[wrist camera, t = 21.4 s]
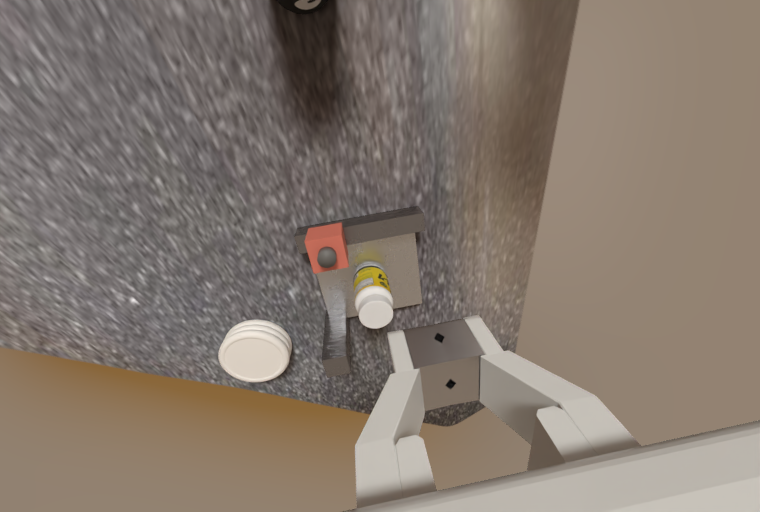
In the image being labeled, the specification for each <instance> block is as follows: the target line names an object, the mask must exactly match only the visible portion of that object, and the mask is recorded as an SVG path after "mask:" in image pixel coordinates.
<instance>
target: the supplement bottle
mask: <svg viewBox="0 0 760 512" xmlns="http://www.w3.org/2000/svg"><path fill="white" fill-rule="evenodd" d="M353 285H354V301H355V308H356V310H357V312H358V313H359V319H360V321H361V323H362V324H363V325H364V326H366V327H368V328H373V329H377V328H381V327H384V326H386V325H387V324H388V323H389V322H390V321H391V320H392V317H393V308H392V307H393V297H392V293H391V290H390V286H389V282H388V279H387V275H386V273H385V271H384V270H383V269H382V268H381V267H379V266H377V265H373V264H369V265H364V266H362V267H361V268H359V269H358V270H357V271H356V273H355V274H354V278H353Z"/></svg>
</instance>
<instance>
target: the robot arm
mask: <svg viewBox="0 0 760 512" xmlns="http://www.w3.org/2000/svg"><path fill="white" fill-rule="evenodd" d="M388 341H389V347H390V352H391V358H392V363H393V369H394V374H390V376H389V378H388V380H387V382H386V384H385V386H384V388H383V390H382V392H381V394H380V396H379V398H378V400H377V402H376V404H375V406H374V408H373V410H372V412H371V414H370V416H369V419H368V421H367V423H366V425H365V427H364V429H363V431H362V433H361V435H360V437H359V439H358V441H357V443H356V445H355V464H356V496H357V508H356V509H352V510H347V511H343V512H760V420H759V421H755V422H749V423H745V424H740V425H736V426H731V427H727V428H722V429H718V430H713V431H708V432H704V433H699V434H695V435H690V436H686V437H681V438H677V439H672V440H667V441H663V442H659V443H654V444H650V445H645V446H641V445H640V444H639V443H638V442H637V441H636V440H635V438H634V437H632V435H631V434H630V433H629V432H628V431H627V430H626V429H625V427H624V426H623V425H622V424H621V423H620V422H619V421H618V420H617V419H616V417H615V416H614V415H613V414H612V413H611V412H610V411H609V410H608V409H607V407H606V406H605V405H604V404H603V403H602V402H601V401H600V400H599V398H598V397H597V396H596V395H594V394H592V393H590V392H588V391H586V390H584V389H582V388H580V387H578V386H576V385H574V384H572V383H570V382H569V381H567V380H565V379H563V378H561V377H559V376H557V375H555V374H553V373H551V372H549V371H547V370H545V369H543V368H542V367H540V366H538V365H536V364H534V363H532V362H530V361H528V360H526V359H524V358H522V357H520V356H518V355H516V354H515V353H513V352H511V351H509V350H508V351H503V349H502V348H501V347H500V345H499V344H498V342H497V341H496V339H495V338H494V336H493V335H492V333H491V332H490V331H489V329H488V328H487V326H486V325H485V323H484V322H483V320H482V319H481V318H480V316H478V315H475V316H471V317H466V318H462V319H457V320H452V321H448V322H443V323H438V324H433V325H427V326H422V327H416V328H410V329H404V330H400V331H394V332H389V333H388ZM476 400H480V402H481V403H482V404H483V405H485V406H486V407H487V408H488V409H489V410H491V411H492V412H493V413H494V414H495V415H496V416H498V417H499V418H500V419H501V420H502V421H503V422H505V423H506V424H507V425H509V427H511V428H512V429H513V430H514V431H515V432H516V433H518V434H519V435H520V436H521V437H522V438H524V439H525V440H526V441H527V442H528V443H529V444H531V451H530V456H529V462H528V468H527V471H525V472H521V473H517V474H512V475H507V476H502V477H498V478H493V479H489V480H484V481H480V482H475V483H471V484H466V485H461V486H457V487H453V488H448V489H443V490H439V491H437V490H436V486H435V483H434V478H433V475H432V471H431V467H430V463H429V459H428V455H427V452H426V448H425V444H424V440H423V439H422V438H421V437H419V433H420V430H421V426H422V422H423V419H424V415H425V411H428V410H432V409H436V408H440V407H444V406H449V405H453V404H459V403H465V402H470V401H476Z"/></svg>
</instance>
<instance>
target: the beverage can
mask: <svg viewBox="0 0 760 512" xmlns="http://www.w3.org/2000/svg"><path fill="white" fill-rule="evenodd" d="M277 1H278V2H279V3H280V4H281V5H282V6H283V7H285V8H286V9H288V10H290V11H292V12H295V13H299V14H309V13H313V12H315V11H317V10H319V9H320V8H321V7H323V6H324V5H325V4H326V2H327V1H328V0H277Z"/></svg>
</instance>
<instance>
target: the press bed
mask: <svg viewBox="0 0 760 512" xmlns="http://www.w3.org/2000/svg"><path fill="white" fill-rule="evenodd" d="M341 222H342V226H343V231H344V235H345V240H346V244H347V249H348V259H349V267H347V268H341V269H336V270H331V271H325V272H320V273H316V274H317V277H318V280H319V284H320V287H321V291H322V294H323V297H324V301H325V304H326V308H327V310H326V316H325V328H324V340H323V352H322V363H323V366H324V369H325V372H326V375H327V378H328V377H333V376H338V375H343V374H348V373H351V357H350V327H349V317H354V316H359V313H358V312H357V310H356V308H355V301H354V285H353V278H354V274H355V273H356V271H357V270H358V269H359V268H361V267H362V266H364V265H369V264H373V265H377V266H379V267H381V268H382V269H383V270H384V271H385V273H386V275H387V279H388V282H389V286H390V290H391V293H392V297H393V307H392V308H393V309H395V308H400V307H405V306H410V305H415V304H421V303H422V297H421V287H420V277H419V267H418V257H417V247H416V237H415V233H416V232H421V231H425V226H424V213H423V212H422V211H421V209H420V208H419V207H418V206H415V207H409V208H404V209H398V210H393V211H387V212H382V213H376V214H371V215H365V216H360V217H354V218H349V219H343V220H338V221H332V222H327V223H321V224H316V225H310V226H305V227H299V228H297V231H296V233H295V236H294V237H295V241H296V244H297V247H298V250H299V253H300V254H302V253H308V252H307V249H306V245H305V242H304V241H305V238H306V235H307V231H308V228H313V227H319V226H324V225H330V224H335V223H341Z"/></svg>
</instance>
